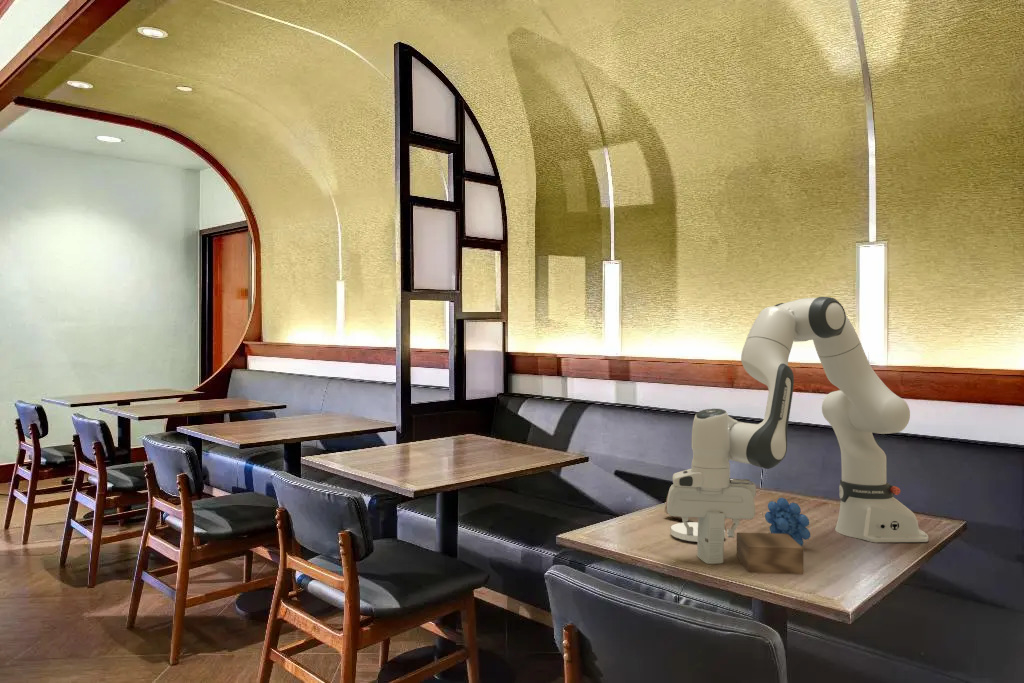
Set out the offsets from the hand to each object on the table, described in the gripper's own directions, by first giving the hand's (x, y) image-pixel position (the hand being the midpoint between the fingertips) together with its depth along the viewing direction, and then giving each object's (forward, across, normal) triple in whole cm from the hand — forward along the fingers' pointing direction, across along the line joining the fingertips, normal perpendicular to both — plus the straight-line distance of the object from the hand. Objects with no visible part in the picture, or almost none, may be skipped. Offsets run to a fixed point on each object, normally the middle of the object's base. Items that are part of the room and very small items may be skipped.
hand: (710, 535), depth 172 cm
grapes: (+6, -20, -15) cm, 26 cm away
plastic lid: (+6, +1, -20) cm, 21 cm away
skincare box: (+6, 0, 0) cm, 6 cm away
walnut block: (+6, -13, +1) cm, 14 cm away
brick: (+6, +1, -34) cm, 34 cm away
